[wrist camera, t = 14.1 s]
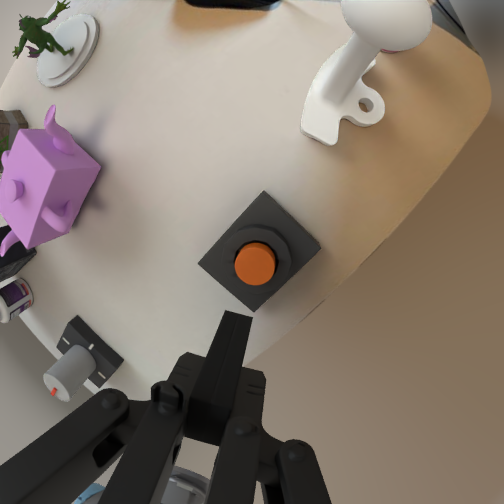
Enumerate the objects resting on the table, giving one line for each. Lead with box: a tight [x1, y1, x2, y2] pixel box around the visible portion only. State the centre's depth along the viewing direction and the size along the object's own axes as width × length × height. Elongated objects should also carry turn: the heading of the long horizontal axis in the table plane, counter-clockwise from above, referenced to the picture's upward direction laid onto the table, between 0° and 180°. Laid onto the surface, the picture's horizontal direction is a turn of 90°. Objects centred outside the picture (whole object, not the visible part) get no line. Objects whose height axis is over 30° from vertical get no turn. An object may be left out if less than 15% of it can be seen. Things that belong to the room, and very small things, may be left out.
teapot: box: [0, 105, 101, 257], centre depth 26 cm, size 15×13×11 cm
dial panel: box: [57, 315, 124, 388], centre depth 37 cm, size 10×9×3 cm
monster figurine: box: [13, 0, 99, 87], centre depth 20 cm, size 12×12×10 cm
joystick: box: [300, 0, 432, 146], centre depth 16 cm, size 11×8×20 cm
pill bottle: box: [0, 279, 33, 323], centre depth 33 cm, size 5×5×10 cm
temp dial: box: [43, 345, 96, 401], centre depth 32 cm, size 5×5×8 cm
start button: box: [235, 243, 275, 285], centre depth 26 cm, size 4×4×2 cm
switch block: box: [198, 191, 321, 312], centre depth 29 cm, size 10×8×4 cm
